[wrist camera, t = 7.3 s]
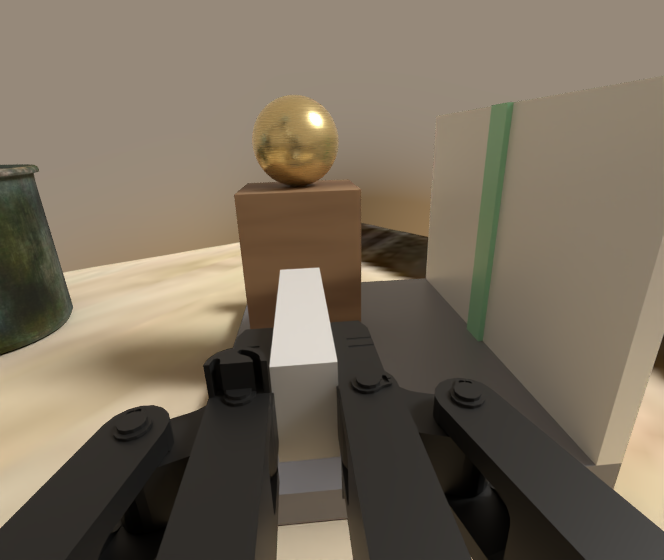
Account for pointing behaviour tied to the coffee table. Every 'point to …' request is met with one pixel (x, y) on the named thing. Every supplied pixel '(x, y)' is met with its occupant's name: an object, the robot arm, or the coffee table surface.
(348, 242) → the slider
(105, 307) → the coffee table surface
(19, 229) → the mug
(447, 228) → the stand
